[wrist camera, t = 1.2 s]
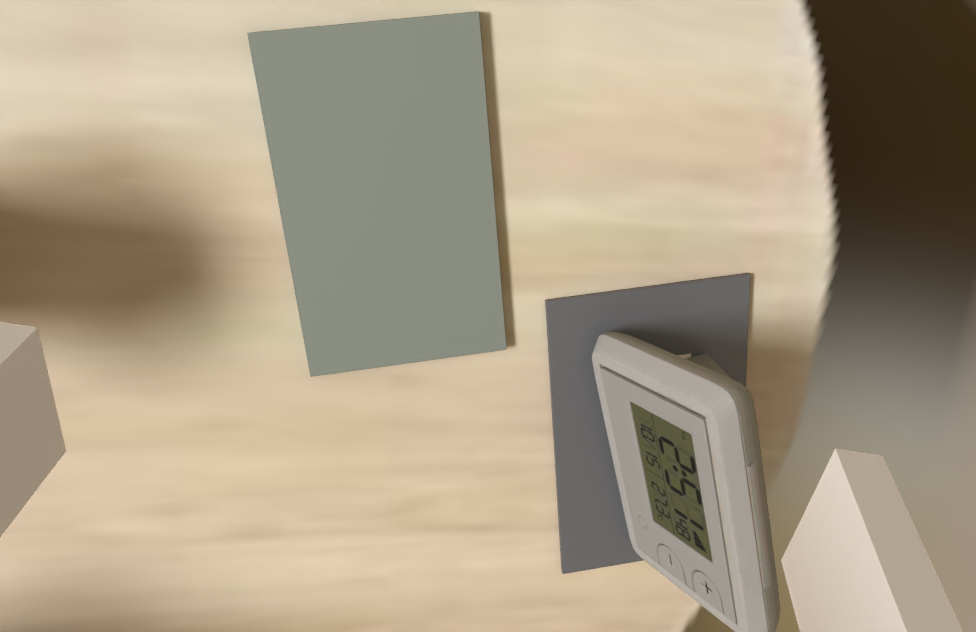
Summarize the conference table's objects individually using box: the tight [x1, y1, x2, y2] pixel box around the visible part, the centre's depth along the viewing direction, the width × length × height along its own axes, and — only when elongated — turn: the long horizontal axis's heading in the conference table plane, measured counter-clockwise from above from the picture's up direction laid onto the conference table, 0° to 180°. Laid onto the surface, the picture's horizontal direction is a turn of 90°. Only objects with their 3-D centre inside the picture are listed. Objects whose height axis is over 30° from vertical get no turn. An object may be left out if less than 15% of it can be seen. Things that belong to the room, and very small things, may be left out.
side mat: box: [247, 12, 506, 377], centre depth 42 cm, size 18×11×1 cm, turn 5°
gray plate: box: [545, 273, 750, 574], centre depth 50 cm, size 19×12×1 cm, turn 5°
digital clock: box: [592, 332, 780, 632], centre depth 45 cm, size 16×9×11 cm, turn 2°
